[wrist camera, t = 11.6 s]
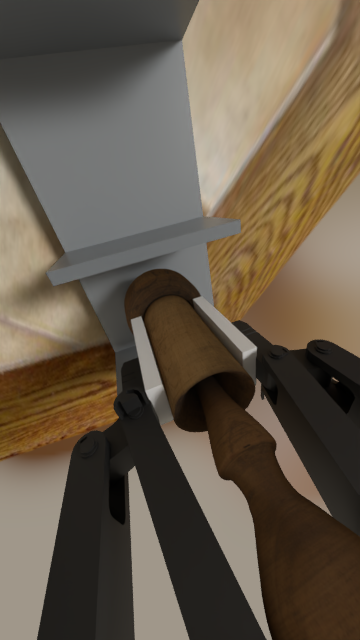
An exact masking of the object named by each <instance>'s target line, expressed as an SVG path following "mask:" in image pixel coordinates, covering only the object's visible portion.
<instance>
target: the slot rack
mask: <svg viewBox="0 0 360 640" xmlns="http://www.w3.org/2000/svg"><path fill="white" fill-rule="evenodd" d="M198 2H199V0H0V123H1V125H2V127H3V129H4V131H5V133H6V135H7V137H8V139H9V141H10V143H11V145H12V147H13V149H14V151H15V153H16V155H17V157H18V159H19V161H20V163H21V165H22V167H23V169H24V171H25V173H26V175H27V177H28V179H29V181H30V183H31V185H32V187H33V189H34V191H35V193H36V195H37V197H38V199H39V201H40V203H41V205H42V207H43V209H44V211H45V213H46V215H47V217H48V219H49V221H50V223H51V225H52V227H53V229H54V231H55V233H56V235H57V237H58V239H59V241H60V243H61V245H62V247H63V249H64V251H65V253H64V254H63V256H62V257H61V258H60V259H59V260H58V261H57V262H56V263H55V264H54V265H53V266H52V267H51V268H50V269H49V270H48V271H47V272H46V274H47V276H48V278H49V279H50V281H51V283H52V285H53V286H56V285H59V284H63V283H66V282H70V281H73V280H77V279H79V281H80V283H81V285H82V287H83V289H84V291H85V293H86V295H87V297H88V299H89V301H90V303H91V305H92V307H93V309H94V311H95V313H96V315H97V317H98V319H99V321H100V323H101V325H102V327H103V329H104V331H105V333H106V335H107V337H108V339H109V341H110V343H111V345H112V347H113V349H114V351H115V357H116V377H117V396H118V395H119V394H120V393H121V392H122V379H121V378H122V377H121V368H122V366H123V363H124V362H127V361H129V360H132V359H135V358H138V353H137V348H136V343H135V338H134V335H133V334H132V333H131V331H130V329H129V327H128V324H127V320H126V314H125V308H124V300H125V295H126V292H127V290H128V288H129V286H130V284H131V283H132V282H133V281H134V280H135V279H136V278H137V277H138V276H140V275H141V274H143V273H145V272H147V271H150V270H153V269H170V270H173V271H176V272H178V273H180V274H181V275H183V276H184V277H185V278H186V279H188V280H189V281H190V282H191V283H192V284H193V285H194V286H195V287H196V289H197V290H198V291H199V293H200V295H201V296H203V297H204V298H205V299H206V300H207V301H208V302H209V303H210V304H211V305H212V306H213V307H214V303H213V295H212V287H211V278H210V270H209V262H208V253H207V245H206V242H210V241H213V240H217V239H220V238H224V237H227V236H231V235H234V234H238V233H241V225H240V219H228V218H216V217H204V216H203V212H202V203H201V195H200V187H199V178H198V170H197V162H196V153H195V145H194V137H193V128H192V120H191V112H190V103H189V95H188V87H187V78H186V70H185V62H184V53H183V45H182V38H183V36H184V34H185V31H186V29H187V27H188V25H189V22H190V20H191V18H192V15H193V13H194V11H195V9H196V6H197V4H198Z"/></svg>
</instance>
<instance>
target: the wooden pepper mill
mask: <svg viewBox="0 0 360 640" xmlns="http://www.w3.org/2000/svg"><path fill="white" fill-rule="evenodd" d="M198 297H201V295H200V293H199V291H198V290H197V289H196V287H195V286H194V285H193V284H192V283H191V282H190V281H189V280H188V279H186V278H185V277H184V276H183V275H181V274H180V273H178V272H176V271H173V270H170V269H153V270H150V271H147V272H145V273H143V274H141V275H140V276H138V277H137V278H136V279H135V280H134V281H133V282H132V283H131V284H130V286H129V288H128V290H127V292H126V295H125V300H124V308H125V314H126V320H127V324H128V327H129V329H130V331H131V333H132V334H133V335H134V333H133V328H132V323H131V319H134V318H137V317H140V316H141V317H142V320H143V323H144V325H145V328H146V331H147V334H148V337H149V340H150V343H151V346H152V349H153V352H154V355H155V359H156V362H157V365H158V368H159V372H160V375H161V378H162V382H163V385H164V388H165V392H166V395H167V398H168V402H169V405H170V409H171V412H172V415H173V419H174V421H175V423H176V425H177V426H178V427H179V428H181V429H183V430H185V431H189V432H204V431H208V434H209V439H210V444H211V449H212V454H213V457H214V461H215V465H216V468H217V471H218V474H219V476H220V477H221V478H222V479H224V480H232V481H233V482H234V483H235V484H236V485H237V486H238V487H239V488H240V490H241V491H242V493H243V494H244V496H245V498H246V500H247V502H248V505H249V509H250V512H251V515H252V518H253V523H254V529H255V538H256V548H257V558H258V566H259V574H260V582H261V591H262V598H263V604H264V609H265V614H266V619H267V623H268V627H269V631H270V634H271V637H272V640H360V537H359V536H358V535H357V534H356V533H354V532H353V531H352V530H350V529H349V528H347V527H346V526H345V525H343V524H342V523H340V522H339V521H337V520H336V519H335V518H333V517H332V516H330V515H329V514H327V513H326V512H325V511H324V510H322V509H321V508H320V507H318V506H317V505H315V504H314V503H312V502H311V501H309V500H308V499H306V498H305V497H303V496H302V495H301V494H299V493H298V492H297V491H296V490H295V489H294V488H293V487H292V486H291V484H290V483H289V482H288V480H287V479H286V478H285V476H284V474H283V472H282V470H281V468H280V466H279V464H278V461H277V459H276V456H275V450H276V441H275V440H274V438H273V437H272V436H271V435H270V434H269V433H268V431H267V430H266V429H265V428H264V427H263V426H262V425H261V424H260V423H259V422H258V421H256V420H255V419H254V418H253V417H252V416H251V415H250V414H249V413H248V412H246V411H245V409H246V408H247V407H248V406H249V404H250V402H251V400H252V398H253V396H254V393H255V383H254V381H253V379H252V377H251V376H250V375H249V374H248V373H247V371H246V370H245V369H244V368H243V367H242V366H241V365H240V363H239V362H238V361H237V360H236V359H235V358H234V357H233V355H232V354H231V353H230V352H229V351H228V350H227V348H226V347H225V346H224V345H223V344H222V343H221V341H220V340H219V339H218V338H217V337H216V335H215V334H214V333H213V332H212V331H211V330H210V328H209V327H208V326H207V325H206V324H205V322H204V321H203V320H202V319H201V317H200V316H199V315H198V314H197V313H196V311H195V309H194V303H193V299H195V298H198Z"/></svg>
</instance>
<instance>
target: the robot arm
mask: <svg viewBox="0 0 360 640" xmlns="http://www.w3.org/2000/svg"><path fill="white" fill-rule="evenodd" d="M193 303H194V309H195V311H196V313H197V314H198V315H199V316H200V317H201V319H202V320H203V321H204V322H205V324H206V325H207V326H208V327H209V328H210V330H211V331H212V332H213V333H214V334H215V335H216V337H217V338H218V339H219V340H220V341H221V343H222V344H223V345H224V346H225V347H226V348H227V350H228V351H229V352H230V353H231V354H232V355H233V357H234V358H235V359H236V360H237V361H238V362H239V363H240V365H241V366H242V367H243V368H244V369H245V370H246V371H247V373H248V374H249V375H250V376H251V377H252V379H253V381H254V383H255V385H256V378H257V379H258V380H259V381H260V382H261V398H262V400H263V399H264V395H265V396H266V398H267V400H268V402H269V404H270V406H271V407H272V409H273V411H274V413H275V414H276V416H277V418H278V420H279V422H280V423H281V425H282V427H283V429H284V431H285V432H286V434H287V436H288V438H289V440H290V441H291V443H292V445H293V447H294V448H295V450H296V452H297V454H298V456H299V457H300V459H301V461H302V463H303V465H304V466H305V468H306V470H307V472H308V474H309V475H310V477H311V479H312V481H313V482H314V484H315V486H316V488H317V490H318V491H319V493H320V495H321V497H322V499H323V500H324V502H325V504H326V506H327V508H328V509H329V511H330V513H331V515H332V517H333V518H335V519H336V520H337V521H339V522H340V523H342V524H343V525H345V526H346V527H347V528H349V529H350V530H352V531H353V532H354V533H356V534H357V535H358V536H359V537H360V358H358V357H357V356H355V355H354V354H352V353H350V352H348V351H346V350H345V349H343V348H341V347H339V346H338V345H336V344H334V343H332V342H329V341H325V340H313V341H310V342H309V343H308V344H307V348H306V349H300V350H288V349H287V348H285V347H283V346H279V345H272V344H271V343H270V342H269V341H267V340H266V339H265V338H264V337H263V336H261V335H260V334H259V333H258V332H256V331H255V330H254V329H253V328H252V327H251V326H249V325H248V324H247V323H245V322H242V321H240V320H238V321H235V322H232V323H231V322H229V321H228V320H227V319H226V318H225V317H224V316H223V315H222V314H221V313H220V312H219V311H218V310H217V309H215V308H214V307H213V306H212V305H211V304H210V303H209V302H208V301H207V300H206V299H205V298H204V297H203V296H201V297H198V298H195V299H193ZM131 323H132V328H133V333H134V338H135V343H136V348H137V353H138V358H135V359H132V360H129V361H127V362H124V363H123V366H122V368H121V377H122V378H121V379H122V392H121V393H120V394H119V395H118V396H117V397H116V399H115V401H114V410H115V412H116V413H117V415H118V416H119V419H118V420H117V421H116V422H115V423H114V424H113V425H112V426H110V427H109V428H108V429H106V430H105V431H104V432H100V431H97V430H96V431H91V432H89V433H87V434H85V435H84V436H83V437H82V438H81V439H80V440H78V442H77V444H76V445H75V446H74V449H73V451H72V455H71V460H70V465H69V471H68V476H67V481H66V487H65V492H64V497H63V503H62V508H61V513H60V519H59V524H58V530H57V535H56V540H55V546H54V551H53V556H52V562H51V567H50V573H49V578H48V584H47V589H46V594H45V599H44V605H43V610H42V616H41V622H40V627H39V632H38V637H37V640H135V638H134V612H133V586H132V561H131V538H130V537H131V536H130V511H129V484H128V472H129V471H130V470H131V469H132V468H133V467H134V466H135V467H136V470H137V473H138V476H139V479H140V483H141V486H142V489H143V492H144V495H145V498H146V502H147V505H148V508H149V511H150V515H151V518H152V521H153V524H154V527H155V531H156V534H157V537H158V540H159V543H160V546H161V549H162V553H163V556H164V559H165V562H166V566H167V569H168V571H169V575H170V578H171V581H172V584H173V588H174V591H175V594H176V597H177V601H178V604H179V607H180V610H181V614H182V617H183V620H184V623H185V626H186V630H187V632H188V636H189V639H190V640H266V638H265V636H264V634H263V632H262V630H261V628H260V626H259V624H258V622H257V620H256V618H255V616H254V614H253V612H252V610H251V608H250V606H249V604H248V602H247V600H246V598H245V596H244V594H243V592H242V590H241V588H240V586H239V584H238V582H237V580H236V578H235V576H234V574H233V571H232V570H231V567H230V565H229V563H228V561H227V559H226V557H225V555H224V554H223V551H222V550H221V547H220V545H219V543H218V541H217V539H216V537H215V535H214V533H213V531H212V529H211V527H210V525H209V523H208V521H207V519H206V517H205V515H204V513H203V511H202V509H201V507H200V505H199V503H198V501H197V499H196V497H195V495H194V493H193V491H192V489H191V487H190V485H189V483H188V481H187V479H186V477H185V475H184V473H183V471H182V469H181V467H180V465H179V463H178V461H177V459H176V457H175V455H174V453H173V451H172V449H171V446H170V445H169V442H168V441H167V438H166V436H165V434H164V432H163V430H162V428H161V426H160V424H161V425H163V424H165V423H167V422H170V421H172V420H174V419H173V415H172V412H171V409H170V405H169V402H168V398H167V395H166V392H165V388H164V385H163V382H162V378H161V375H160V372H159V368H158V365H157V362H156V359H155V355H154V352H153V349H152V346H151V343H150V340H149V337H148V334H147V331H146V328H145V325H144V323H143V320H142V317H141V316H140V317H137V318H134V319H131ZM333 377H334V378H335V379H336V380H338V381H339V382H337V381H335V380H333V379H332V378H333Z"/></svg>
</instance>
